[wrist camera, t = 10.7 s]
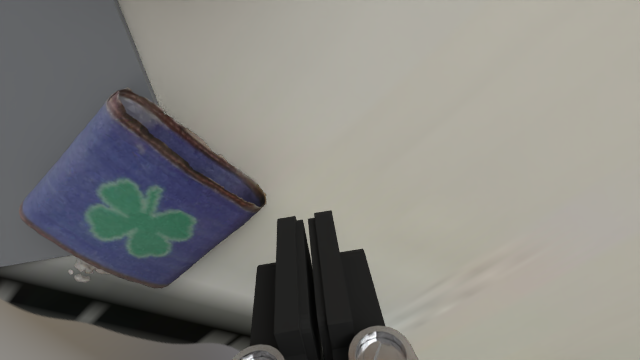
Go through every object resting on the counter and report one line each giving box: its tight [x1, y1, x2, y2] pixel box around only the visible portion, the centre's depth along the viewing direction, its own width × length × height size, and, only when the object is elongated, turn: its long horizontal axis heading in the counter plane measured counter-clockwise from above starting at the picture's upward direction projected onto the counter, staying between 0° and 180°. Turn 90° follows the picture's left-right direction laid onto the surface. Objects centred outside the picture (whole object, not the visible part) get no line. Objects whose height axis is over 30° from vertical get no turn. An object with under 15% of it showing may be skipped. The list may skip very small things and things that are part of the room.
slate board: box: [0, 0, 159, 267], centre depth 19 cm, size 17×14×1 cm
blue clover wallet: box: [19, 87, 266, 288], centre depth 19 cm, size 9×3×11 cm
